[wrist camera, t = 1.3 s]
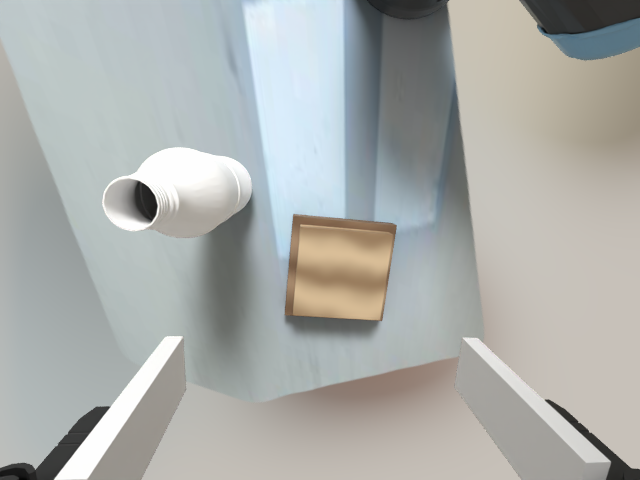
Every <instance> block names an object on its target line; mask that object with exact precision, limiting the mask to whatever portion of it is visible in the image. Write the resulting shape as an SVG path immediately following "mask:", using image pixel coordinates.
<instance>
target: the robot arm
mask: <svg viewBox="0 0 640 480" xmlns="http://www.w3.org/2000/svg"><path fill="white" fill-rule="evenodd" d="M368 1H369V2H370V3H371V4H372V5H373V6H374V7H375V8H377V9H378V10H380V11H381V12H383V13H385V14H387V15H390V16H393V17H396V18H402V19H414V18H420V17H424V16H427V15H429V14H431V13H433V12H435V11H437V10H438V9H440V8H441V7H442V6H444V5H445V4H446V3H447V2H448V1H449V0H368ZM519 1H520V2H521V3H522V4H523V6H524V7H525V8H526V10H527V11H528V12H529V13H530V15H531V16H532V17H533V18H534V20H535V21H536V22H537V23H538V25H537V28H538V29H539V31H540V32H541V33H542V34H543V35H544V36H547V37H549V38H550V39H551V40H552V41H553V42H554V43H555V44H556V46H557V47H558V48H559V49H560V50H561V51H562V52H563V53H564V54H565V55H567V56H569V57H571V58H576V59H581V60H596V59H603V58H607V57H611V56H615V55H618V54H622V53H625V52H627V51H630V50H633V49H635V48H638V47H640V0H519ZM454 387H455V389H456V390H457V392H458V393H459V394H460V396H461V397H462V399H463V400H464V401H465V403H466V404H467V405H468V407H469V408H470V409H471V411H472V412H473V414H474V415H475V416H476V418H477V419H478V420H479V422H480V423H481V424H482V426H483V427H484V429H485V430H486V432H487V433H488V434H489V436H490V437H491V438H492V440H493V441H494V443H495V444H496V445H497V447H498V448H499V449H500V451H501V452H502V453H503V455H504V456H505V458H506V459H507V460H508V462H509V463H510V464H511V466H512V467H513V469H514V470H515V471H516V473H517V474H518V476H519V477H520V478H521V480H640V469H632V468H630V467H629V466H628V465H627V464H626V463H625V462H623V461H622V460H621V459H620V458H619V457H618V456H617V455H616V454H614V453H613V452H612V451H611V450H610V449H609V448H608V447H607V446H606V445H604V444H603V443H602V442H601V441H600V440H599V439H598V438H597V437H595V436H594V435H593V434H592V433H589V431H588V429H586V428H585V427H584V426H583V425H582V424H581V423H578V421H577V420H576V419H575V418H574V417H573V416H572V415H571V414H570V413H568V412H567V411H566V410H565V409H564V408H562V407H560V406H559V405H557V404H555V403H554V402H552V401H550V400H544V399H543V398H542V397H541V396H540V395H538V394H537V393H536V392H535V391H534V390H533V389H532V388H531V387H530V386H529V385H528V384H527V383H525V382H524V381H523V380H522V379H521V378H520V377H519V376H518V375H517V374H516V373H515V372H514V371H513V370H512V369H510V368H509V367H508V366H507V365H506V364H505V363H504V362H503V361H501V359H500V358H499V357H497V356H496V355H495V354H494V353H493V352H492V351H491V350H490V349H489V348H488V347H487V346H486V345H485V344H483V343H482V342H481V341H480V340H479V339H478V338H462V342H461V348H460V355H459V361H458V367H457V373H456V380H455V385H454ZM185 391H186V378H185V358H184V339H183V336H166V337H165V338H164V339H163V341H162V342H161V343H160V344H159V346H158V347H157V348H156V349H155V351H154V352H153V353H152V355H151V356H150V357H149V358H148V360H147V361H146V362H145V364H144V365H143V366H142V367H141V369H140V370H139V371H138V373H137V374H136V375H135V376H134V378H133V379H132V380H131V382H130V383H129V384H128V385H127V387H126V388H125V389H124V391H123V392H122V393H121V395H120V396H119V397H118V398H117V400H116V401H115V402H114V403H113V405H112V406H111V407H95V408H94V409H93V410H91V411H90V412H88V413H87V414H86V415H84V416H83V417H82V418H80V419H79V420H78V421H77V423H76V424H75V425H74V426H73V427H72V428H71V430H70V431H69V432H68V435H65V436H64V438H63V439H62V440H61V441H60V442H59V444H58V446H56V447H55V448H54V449H53V450H52V451H51V453H50V454H49V455H48V456H47V457H46V458H45V459H44V461H43V462H42V463H41V464H40V465H39V466H38V468H37V469H36V470H35V469H34V467H33V466H32V465H30V464H26V463H17V464H11V465H8V466H5V467H2V468H0V480H141V479H142V477H143V475H144V473H145V471H146V469H147V467H148V465H149V463H150V461H151V459H152V457H153V455H154V453H155V451H156V449H157V447H158V445H159V443H160V441H161V439H162V437H163V435H164V433H165V431H166V429H167V427H168V425H169V423H170V421H171V419H172V417H173V415H174V413H175V411H176V409H177V407H178V405H179V403H180V401H181V399H182V397H183V395H184V393H185Z"/></svg>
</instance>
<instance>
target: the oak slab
mask: <svg viewBox="0 0 640 480" xmlns="http://www.w3.org/2000/svg"><path fill="white" fill-rule="evenodd" d="M392 239H393V235H392V234H391V233H389V232H381V231H370V230H359V229H347V228H336V227H324V226H313V225H302V224H300V233H299V244H298V255H297V266H296V277H295V288H294V299H293V315H295V316H312V317H329V318H347V319H364V320H380V317H381V311H382V304H383V298H384V291H385V285H386V278H387V272H388V265H389V258H390V252H391V245H392Z"/></svg>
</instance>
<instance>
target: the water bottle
mask: <svg viewBox="0 0 640 480" xmlns="http://www.w3.org/2000/svg"><path fill="white" fill-rule="evenodd" d="M251 193H252V182H251V178H250V175H249V173H248V172H247V170H246V169H245V168H244V167H243V166H242V165H241V164H240V163H239V162H237V161H235V160H234V159H231V158H228V157H224V156H214V155H211V154H208V153H203V152H199V151H197V150H193V149H189V148H170V149H165V150H162V151H160V152H158V153H155V154H154V155H152V156H151V157H149V158H148V159H147V160H146V161H145V162H144V163H143V164H142V165H141V166H140V168H139V169H138V171H137V172H136V173H134V174H132V175H130V176H123V177H120V178H118V179H115V180H113V181H112V182H111V183H110V184H109V185H108V186H107V188H106V190H105V191H104V193H103V201H102V204H103V208H104V211H105V214H106V215H107V216H108V218H109V219H110V220H111V222H112V223H114V224H115V225H117V226H118V227H120V228H122V229H125V230H130V231H139V230H145V229H152V230H153V229H155V230H157V231H158V232H160V233H162V234H165V235H168V236H171V237H176V238H193V237H198V236H201V235H204V234H206V233H208V232H210V231H212V230H213V229H215V228H216V227H217V226H218V225H219V224H221V223H223V222H224V221H226V220H227V219H229V218H230V217H231V216H232V215H233V214H235V213H237V212H239V211H240V210H241V209H242V208H244V207H245V206H246V204H247V203H248V201H249V199H250V197H251Z"/></svg>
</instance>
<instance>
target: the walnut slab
mask: <svg viewBox="0 0 640 480" xmlns="http://www.w3.org/2000/svg"><path fill="white" fill-rule="evenodd" d="M300 224H302V225H313V226H324V227H336V228H347V229H359V230H370V231H381V232H389V233H391V234H392V235H393V239H392V245H391V252H390V258H389V265H388V272H387V278H386V285H385V291H384V298H383V304H382V311H381V317H380V320H377V321H382V318H383V311H384V305H385V298H386V292H387V285H388V279H389V272H390V266H391V259H392V253H393V247H394V240H395V234H396V227H397V225H395V224H393V223H385V222H374V221H363V220H352V219H341V218H330V217H319V216H308V215H297V214H293V224H292V236H291V247H290V259H289V271H288V283H287V294H286V306H285V315H290V316H295V315H293V299H294V288H295V277H296V266H297V255H298V244H299V233H300ZM308 317H312V316H308ZM325 318H329V317H325ZM342 319H347V318H342ZM360 320H364V319H360Z"/></svg>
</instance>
